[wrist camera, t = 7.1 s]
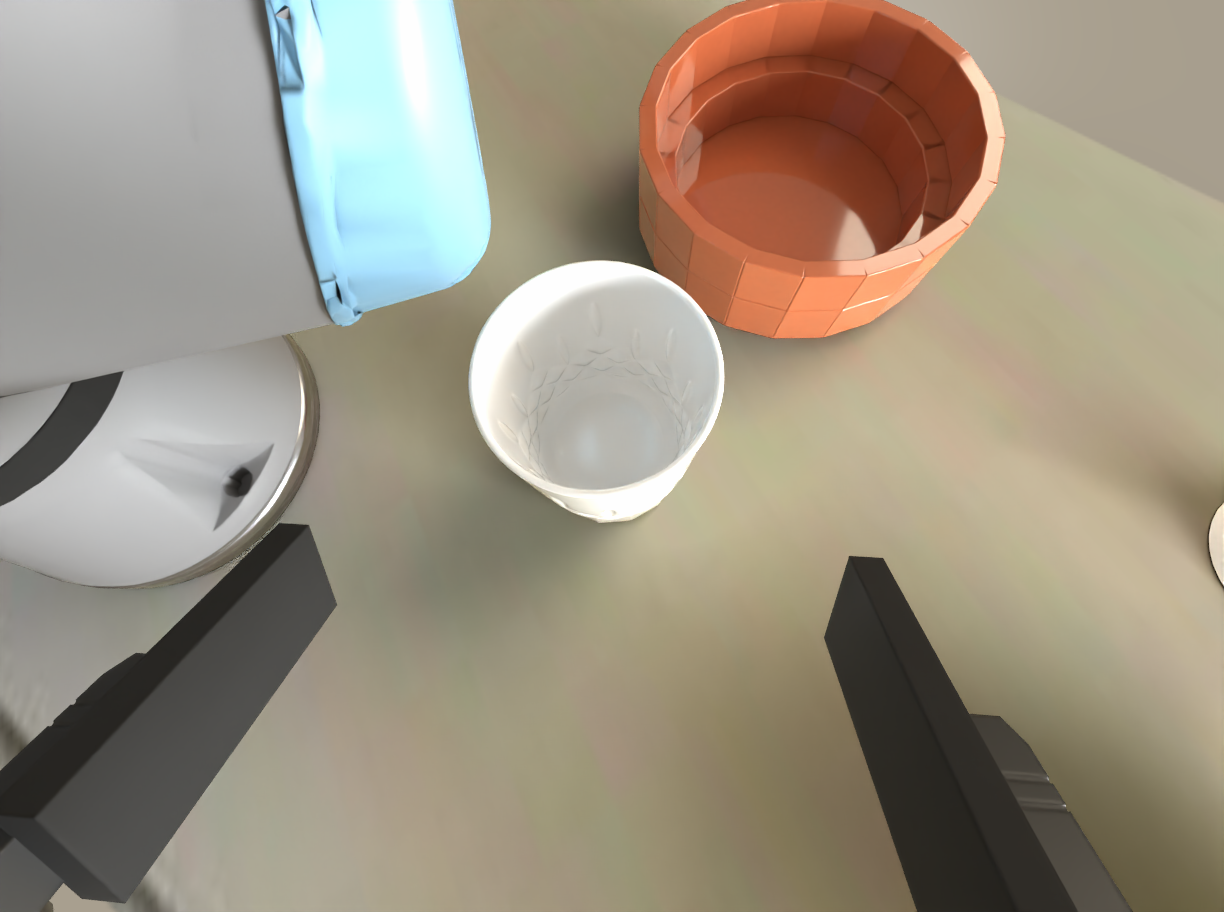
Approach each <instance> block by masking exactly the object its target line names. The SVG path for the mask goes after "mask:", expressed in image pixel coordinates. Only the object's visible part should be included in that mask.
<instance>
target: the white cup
mask: <svg viewBox="0 0 1224 912" xmlns="http://www.w3.org/2000/svg"><path fill="white" fill-rule="evenodd" d="M468 386H469V398H470V404H471V408H472V412H473V416H474V419H475V422H476V424H477V427H478V429H479V431H480V433H481V435H482V437H483V438H484V440H485V442H486V443H487V445H488V446H489V448H490V449H491V450H492V452H493V453H494V454H495V455H496V456H497V458H498V459H499V460H500V461H501V462H502V463H503V464H504V465H505V466H506V467H508V468H509V469H510V470H511V471H512V472H514V473H515V474H516V475H518V476H519V477H521V478H522V479H523V480H525V481H526V482H527V483H529V484H530V485H531V486H533V487H534V488H535V489H536V490H538V491H539V492H540V493H542V494H543V495H544V496H546V497H547V498H548V499H550V500H552V501H553V502H555V503H556V504H558V505H560V506H561V507H563V508H565V509H567V510H568V511H570V512H572V513H575V514H577V515H580V516H583V517H586V518H588V519H591V520H593V521H596V522H598V523H603V522H618V521H631V520H633V519H635V518H636V517H638V516H640V515H642V514H643V513H645V512H647V511H649V510H650V509H652V508H654V507H656V506H657V505H659V504H660V502H661V501H662V499H663V498H664V497H665V496H666V495H667V494H668V493H669V492H670V491H671V490H672V489H673V487H674V486H675V485H676V483H677V482H678V481H679V480H680V479H681V477H682V475H683V474H684V472H685V471H686V469H687V467H688V466H689V464H690V463H691V461H692V459H693V458H694V456H695V455H696V453H697V451H698V450H699V448H700V446H701V445H702V443H703V442H704V440H705V439H706V437H707V435H708V434H709V432H710V430H711V428H712V426H713V424H714V422H715V419H716V417H717V414H718V411H719V408H720V404H721V400H722V395H723V388H724V364H723V357H722V352H721V348H720V345H719V341H718V339H717V336H716V333H715V331H714V329H713V327H712V325H711V323H710V321H709V320H708V318H707V316H706V315H705V313H704V312H703V310H702V309H701V308H700V307H699V305H698V304H697V303H696V302H695V301H694V300H693V299H692V298H691V297H690V296H689V295H688V294H687V293H686V292H685V291H684V290H683V289H681V288H680V287H679V286H678V285H676V284H675V283H673V282H672V281H670V280H669V279H667V278H665V277H663V276H662V275H660V274H658V273H656V272H653V271H651V270H648V269H646V268H643V267H640V266H636V265H633V264H628V263H623V262H617V261H602V260H598V261H583V262H576V263H571V264H567V265H563V266H559V267H556V268H553V269H551V270H548V271H546V272H543V273H541V274H539V275H537V276H535V277H533V278H532V279H530V280H528V281H527V282H525V283H524V284H522V285H521V286H519V287H518V288H517V289H515V290H514V291H513V292H512V293H510V294H509V295H508V296H507V297H506V298H505V299H504V300H503V301H502V302H501V303H500V304H499V305H498V307H497V308H496V309H495V310H494V311H493V313H492V314H491V315H490V317H489V318H488V320H487V321H486V323H485V325H484V326H483V328H482V330H481V332H480V334H479V336H478V338H477V341H476V344H475V346H474V349H473V353H472V357H471V361H470V367H469V379H468Z"/></svg>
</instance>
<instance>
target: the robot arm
mask: <svg viewBox="0 0 1224 912" xmlns="http://www.w3.org/2000/svg"><path fill="white" fill-rule="evenodd" d="M490 227H491V217H490V208H489V200H488V193H487V187H486V181H485V175H484V169H483V164H482V158H481V152H480V147H479V141H478V135H477V130H476V124H475V119H474V113H473V108H472V102H471V96H470V91H469V86H468V80H467V75H466V69H465V64H464V58H463V53H462V47H461V42H460V37H459V32H458V26H457V21H456V16H455V11H454V6H453V0H0V559H2V560H5V561H8V562H11V563H13V564H16V565H19V566H22V567H25V568H28V569H31V570H33V571H35V572H38V573H40V574H43V575H45V576H48V577H51V578H54V579H57V580H60V581H65V582H70V583H75V584H79V585H83V586H90V587H96V588H132V589H143V588H157V587H163V586H169V585H174V584H177V583H181V582H185V581H188V580H191V579H194V578H196V577H199V576H202V575H204V574H206V573H208V572H210V571H213V570H215V569H217V568H219V567H220V566H222V565H224V564H226V563H227V562H229V561H231V560H232V559H234V558H235V557H237V556H238V555H239V554H241V553H242V552H244V551H245V550H246V549H248V548H249V547H250V546H251V545H252V544H254V543H255V542H256V541H257V540H258V539H259V538H260V537H261V536H263V535H264V534H265V533H266V532H267V531H268V530H269V529H270V528H271V526H272V525H273V524H274V523H275V522H276V521H277V520H278V518H279V517H280V516H281V515H282V513H283V512H284V511H285V509H286V508H287V507H288V505H289V504H290V502H291V501H292V499H293V498H294V496H295V494H296V493H297V491H298V489H299V488H300V486H301V484H302V482H303V480H304V478H305V475H306V473H307V471H308V468H309V466H310V463H311V460H312V457H313V454H314V450H315V447H316V442H317V437H318V431H319V420H320V404H319V396H318V389H317V385H316V380H315V377H314V374H313V371H312V369H311V366H310V364H309V362H308V360H307V358H306V356H305V354H304V353H303V351H302V350H301V348H300V347H299V345H298V344H297V343H296V342H295V341H294V339H293V338H292V337H291V336H290V335H289V334H290V333H295V332H299V331H304V330H308V329H313V328H317V327H322V326H326V325H330V324H336V325H341V326H342V327H343V326H348V325H352V324H353V323H355V322H356V321H358V320H359V319H360V318H361V316H362V314H363V313H364V312H367V311H370V310H374V309H377V308H381V307H384V306H388V305H391V304H395V303H398V302H402V301H405V300H408V299H412V298H415V297H419V296H422V295H426V294H429V293H433V292H436V291H440V290H443V289H447V288H449V287H451V286H453V285H454V284H456V283H458V282H459V281H461V280H463V279H464V278H465V277H467V276H468V275H469V274H470V273H471V272H472V270H473V269H474V267H475V266H476V264H477V263H478V262H479V260H480V259H481V257H482V256H483V254H484V253H485V250H486V247H487V243H488V240H489V235H490ZM336 606H337V603H336V600H335V598H334V595H333V592H332V589H331V586H330V584H329V581H328V578H327V575H326V572H325V569H324V567H323V564H322V561H321V558H320V555H319V552H318V550H317V547H316V544H315V541H314V538H313V536H312V533H311V530H310V527H309V525H300V524H282V523H279V524H278V525H277V526H276V527H275V528H274V529H273V530H272V531H271V532H270V533H269V534H268V535H267V536H266V537H265V538H264V539H263V540H262V541H261V542H260V543H259V544H258V545H257V546H256V547H255V548H254V549H253V550H252V551H251V552H250V553H248V554H247V555H246V556H245V557H244V558H243V559H242V560H241V561H240V562H239V563H238V564H237V565H236V566H235V567H234V568H233V569H232V570H231V571H230V572H229V573H228V574H227V575H226V576H225V577H224V578H223V579H222V580H221V581H220V582H219V583H218V584H217V585H216V586H215V587H214V588H213V589H212V590H211V591H210V592H209V593H208V594H207V595H206V596H205V597H204V598H203V599H201V600H200V601H199V602H198V603H197V604H196V605H195V606H194V607H193V608H192V609H191V610H190V611H189V612H188V613H187V614H186V615H185V616H184V617H183V618H182V619H181V620H180V621H179V622H178V623H177V624H176V625H175V626H174V627H173V628H172V629H171V630H170V631H169V632H168V633H167V634H166V635H165V636H164V637H163V638H162V639H161V640H160V641H159V642H158V643H157V644H156V645H154V646H153V647H152V648H151V649H150V650H149V651H148V652H147V653H146V654H143V653H135V654H134V655H132V656H130V657H129V658H127V659H126V660H124V661H123V662H121V663H120V664H118V665H116V666H115V667H113V668H112V669H110V670H109V671H107V672H106V673H104V674H103V675H102V676H101V677H100V678H98V679H97V680H96V681H95V682H94V683H93V684H92V685H91V686H90V687H89V688H88V689H87V690H86V691H85V692H84V693H82V694H81V695H80V696H79V697H78V698H77V699H76V703H75V704H74V705H70V706H69V707H68V708H67V709H65V710H64V711H63V712H62V713H61V714H60V715H59V716H58V717H57V718H56V719H55V720H54V723H53V725H52V726H47V727H46V728H45V729H44V730H43V731H42V732H41V733H40V734H39V735H38V736H37V737H36V738H35V739H34V740H32V741H31V742H30V743H29V744H28V745H27V746H26V747H25V748H24V749H23V750H22V751H21V752H20V753H19V754H18V755H17V756H15V757H14V758H13V759H12V760H11V761H10V762H9V763H8V764H7V765H6V766H5V767H4V768H3V769H2V770H1V771H0V912H53V904H52V903H51V902H49V900H50V899H51V897H52V896H53V895H54V894H55V892H56V891H57V890H58V889H59V888H60V886H61V885H62V884H63V883H65V884H66V885H67V886H68V887H69V888H70V889H71V890H72V891H74V892H75V893H76V894H77V895H78V896H79V897H80V898H82V899H89V900H98V901H107V902H117V903H126V901H127V900H128V898H129V897H130V896H131V894H132V893H133V891H134V890H135V889H136V887H137V886H138V884H139V883H140V882H141V880H142V879H143V877H144V876H145V875H146V873H147V872H148V870H149V869H150V867H151V866H152V865H153V863H154V862H155V860H156V859H157V858H158V856H159V855H160V853H161V852H162V851H163V849H164V848H165V846H166V845H167V844H168V842H169V841H170V839H171V838H172V836H173V835H174V834H175V832H176V831H177V829H178V828H179V827H180V825H181V824H182V822H183V821H184V820H185V818H186V817H187V815H188V814H189V813H190V811H191V810H192V808H193V807H194V806H195V804H196V803H197V801H198V800H199V798H200V797H201V796H202V794H203V793H204V791H205V790H206V789H207V787H208V786H209V784H210V783H211V782H212V780H213V779H214V777H215V776H216V775H217V773H218V772H219V770H220V769H221V768H222V766H223V765H224V763H225V762H226V760H227V759H228V758H229V756H230V755H231V753H232V752H233V751H234V749H235V748H236V746H237V745H238V744H239V742H240V741H241V739H242V738H243V737H244V735H245V734H246V732H247V731H248V729H249V728H250V727H251V725H252V724H253V722H254V721H255V720H256V718H257V717H258V715H259V714H260V713H261V711H262V710H263V708H264V707H265V706H266V704H267V703H268V701H269V700H270V699H271V697H272V696H273V694H274V693H275V691H276V690H277V689H278V687H279V686H280V684H281V683H282V682H283V680H284V679H285V677H286V676H287V675H288V673H289V672H290V670H291V669H292V668H293V666H294V665H295V663H296V662H297V661H298V659H299V658H300V656H301V655H302V653H303V652H304V651H305V649H306V648H307V646H308V645H309V644H310V642H311V641H312V639H313V638H314V637H315V635H316V634H317V632H318V631H319V630H320V628H321V627H322V625H323V624H324V622H325V621H326V620H327V618H328V617H329V615H330V614H331V613H332V611H333V610H334V608H335V607H336ZM824 639H825V642H826V645H827V648H828V651H829V654H830V657H831V660H832V662H833V665H834V668H835V671H836V674H837V677H838V680H839V683H840V686H841V689H842V692H843V695H844V698H845V701H846V704H847V707H848V709H849V712H850V715H851V718H852V721H853V724H854V727H855V730H856V733H857V736H858V739H859V742H860V745H861V748H862V751H863V754H864V756H865V759H866V762H867V765H868V768H869V771H870V774H871V777H872V780H873V783H874V786H875V789H876V792H877V795H878V798H879V801H880V804H881V806H882V809H883V812H884V815H885V818H886V821H887V824H888V827H889V830H890V833H891V836H892V839H893V842H894V845H895V848H896V851H897V853H898V856H899V859H900V862H901V865H902V868H903V871H904V874H905V877H906V880H907V883H908V886H909V889H910V892H911V895H912V898H913V900H914V903H915V906H916V909H917V912H1133V911H1132V910H1131V908H1130V906H1129V905H1128V903H1127V902H1126V900H1125V898H1124V897H1123V895H1122V894H1121V892H1120V890H1119V889H1118V887H1117V886H1116V884H1115V882H1114V881H1113V879H1112V878H1111V876H1110V874H1109V873H1108V871H1107V870H1106V868H1105V866H1104V865H1103V863H1102V862H1101V860H1100V858H1099V857H1098V855H1097V854H1096V852H1095V850H1094V849H1093V847H1092V846H1091V844H1090V842H1089V841H1088V839H1087V838H1086V836H1085V834H1084V833H1083V831H1082V830H1081V828H1080V826H1079V825H1078V823H1077V822H1076V820H1075V818H1074V817H1073V815H1072V813H1071V812H1068V811H1067V809H1066V804H1065V802H1064V801H1063V799H1062V797H1061V796H1060V794H1059V793H1058V791H1057V789H1056V788H1055V786H1054V785H1053V784H1051V783H1050V782H1049V777H1048V775H1047V773H1046V772H1045V770H1044V769H1043V767H1042V765H1041V764H1040V762H1039V761H1038V759H1037V757H1036V756H1035V754H1034V753H1033V751H1032V749H1031V748H1030V746H1029V745H1028V744H1027V743H1026V742H1025V741H1024V740H1023V739H1022V738H1021V737H1020V736H1019V735H1018V734H1017V733H1016V732H1015V731H1014V730H1013V729H1012V728H1011V727H1010V726H1009V725H1008V724H1007V723H1006V722H1005V721H1004V720H1003V719H1002V718H1001V717H1000V716H990V715H977V714H969V713H968V711H967V709H966V707H965V706H964V704H963V702H962V700H961V698H960V697H959V695H958V693H957V691H956V689H955V687H954V686H953V684H952V682H951V680H950V678H949V677H948V675H947V673H946V671H945V669H944V668H943V666H942V664H941V662H940V660H939V658H938V657H937V655H936V653H935V651H934V649H933V648H932V646H931V644H930V642H929V640H928V639H927V637H926V635H925V633H924V631H923V630H922V628H921V626H920V624H919V622H918V620H917V619H916V617H915V615H914V613H913V611H912V610H911V608H910V606H909V604H908V602H907V601H906V599H905V597H904V595H903V593H902V591H901V590H900V588H899V586H898V584H897V582H896V581H895V579H894V577H893V575H892V573H891V572H890V570H889V568H888V566H887V564H886V562H885V561H884V559H883V558H873V557H856V556H849V559H848V562H847V565H846V568H845V572H844V575H843V578H842V581H841V584H840V588H839V591H838V594H837V597H836V601H835V604H834V607H833V610H832V613H831V617H830V620H829V623H828V626H827V630H826V633H825V636H824Z"/></svg>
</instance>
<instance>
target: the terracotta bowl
mask: <svg viewBox="0 0 1224 912" xmlns="http://www.w3.org/2000/svg"><path fill="white" fill-rule="evenodd" d="M1005 137H1006V136H1005V132H1004V127H1003V123H1002V119H1001V114H1000V110H999V106H998V101H997V97H996V93H995V92H994V90H993V88H992V87H991V85H990V84H989V82H988V81H987V80H986V78H985V76H984V75H983V73H982V72H981V70H980V69H979V67H978V66H977V64H976V63H975V62H974V60H973V59H972V57H971V56H970V54H969V53H967V51H966V50H965V49H964V48H963V47H961V46H960V45H959V44H958V43H956V42H955V41H954V40H953V39H951V38H950V37H949V36H948V35H947V34H945V33H944V32H943V31H942V30H940V29H939V28H938V27H937V26H935V25H934V24H933V23H932V22H930V21H928V20H927V19H925V18H923V17H920V16H918V15H916V14H914V13H911V12H909V11H907V10H905V9H902V8H900V7H898V6H896V5H893V4H891V3H889V2H886V1H884V0H746V1H742V2H739V3H735V4H732V5H729V6H728V7H727V6H726V7H724V8H723V9H721V10H719V11H718V12H716V13H714V14H713V15H711V16H709V17H708V18H706V19H704V20H703V21H701V22H699V23H698V24H696V25H694V26H693V27H691V28H689V29H688V30H687V31H686V32H685V33H684V34H683V35H682V36H681V37H680V38H679V39H678V40H677V42H676V43H675V44H674V45H673V46H672V47H671V48H670V49H669V51H668V52H667V53H666V54H665V55H664V56H663V57H662V58H661V60H660V61H659V62H658V63H657V64H656V66H655V68H654V70H653V73H652V75H651V78H650V80H649V83H648V85H647V88H646V90H645V93H644V95H643V98H642V100H641V103H640V107H639V229H640V232H641V234H642V237H643V240H644V242H645V245H646V247H647V250H648V252H649V255H650V257H651V260H652V262H653V265H654V266H655V268H656V270H657V271H658V272H659V273H660V274H661V275H662V276H663V277H665V278H667V279H669V280H670V281H672V282H673V283H675V284H676V285H678V286H679V287H680V288H681V289H683V290H684V291H685V292H686V293H687V294H688V295H689V296H690V297H691V298H692V299H693V300H694V301H695V302H696V303H697V304H698V305H699V307H700V308H701V309H702V310H703V312H704V313H705V314H706V315H708V316H709V317H711V318H713V319H714V320H716V321H718V322H719V323H721V324H723V325H725V326H728V327H732V328H736V329H739V330H743V331H747V332H751V333H754V334H758V335H762V336H765V337H769V338H772V337H773V338H821V337H826V336H830V335H833V334H836V333H839V332H842V331H845V330H849V329H852V328H855V327H858V326H861V325H864V324H868V323H869V322H872V321H873V320H874V319H876V318H877V317H878V316H880V315H881V314H883V313H884V312H885V311H887V310H888V309H890V308H891V307H892V306H894V305H895V304H897V303H898V302H899V301H901V300H902V299H904V298H905V297H906V296H907V295H908V294H909V293H910V292H911V291H912V290H913V289H914V287H915V286H916V285H917V284H918V283H919V282H920V281H921V280H922V279H923V277H924V276H925V275H926V274H927V273H928V272H929V271H930V270H931V269H932V267H933V266H934V265H935V264H936V263H937V262H938V261H939V260H940V259H941V257H942V256H943V255H944V254H945V253H946V252H947V251H948V250H949V249H950V247H951V246H952V245H953V244H954V243H955V242H956V241H957V240H958V239H959V237H960V236H961V235H962V234H963V233H964V232H965V231H966V230H967V229H968V227H969V226H970V225H971V223H972V222H973V220H974V219H975V217H976V216H977V214H978V213H979V211H980V210H981V208H982V207H983V205H984V204H985V202H986V201H987V199H988V198H989V196H990V195H991V193H992V192H993V190H994V189H995V187H996V184H997V181H998V176H999V170H1000V165H1001V159H1002V154H1003V148H1004V143H1005Z"/></svg>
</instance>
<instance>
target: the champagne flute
mask: <svg viewBox="0 0 1224 912" xmlns="http://www.w3.org/2000/svg"><path fill="white" fill-rule="evenodd" d="M1209 550H1210V554H1211V558H1212V563H1213V566H1214V568H1215V570H1216V572H1217V575H1218V577H1219V579H1220V581H1221V582H1222V584H1223V585H1224V503H1223V504H1222V505H1221V507H1220V508H1219V509H1218V510H1217V512H1216V514H1215V516H1214V518H1213V520H1212V523H1211V528H1210V532H1209Z"/></svg>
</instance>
